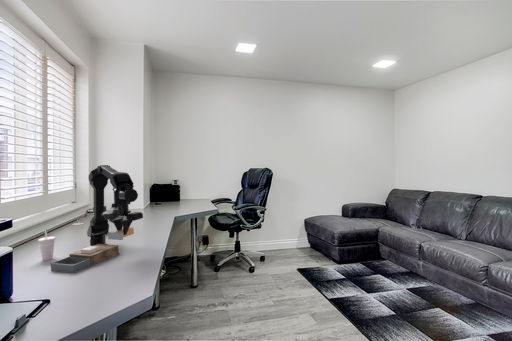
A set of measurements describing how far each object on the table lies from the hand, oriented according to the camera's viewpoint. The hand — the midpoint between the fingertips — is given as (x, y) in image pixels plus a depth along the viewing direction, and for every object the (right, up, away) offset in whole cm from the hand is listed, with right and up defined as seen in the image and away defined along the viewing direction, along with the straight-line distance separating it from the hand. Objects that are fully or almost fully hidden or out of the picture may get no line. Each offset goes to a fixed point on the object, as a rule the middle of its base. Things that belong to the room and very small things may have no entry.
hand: (122, 234), depth 118 cm
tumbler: (-38, -11, +46) cm, 61 cm away
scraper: (0, -1, 0) cm, 1 cm away
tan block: (-13, -11, +1) cm, 17 cm away
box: (-16, -12, -10) cm, 22 cm away
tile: (-14, -7, -1) cm, 16 cm away
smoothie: (-36, -12, +2) cm, 38 cm away
